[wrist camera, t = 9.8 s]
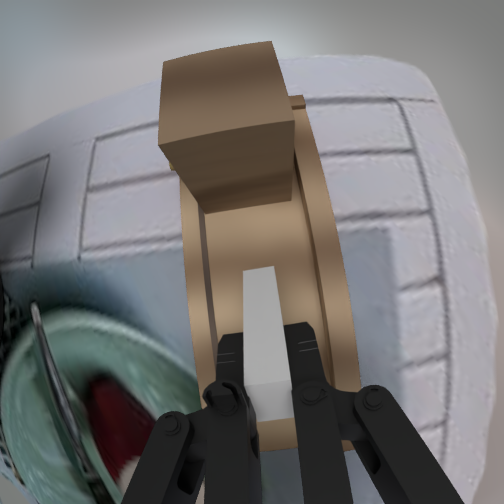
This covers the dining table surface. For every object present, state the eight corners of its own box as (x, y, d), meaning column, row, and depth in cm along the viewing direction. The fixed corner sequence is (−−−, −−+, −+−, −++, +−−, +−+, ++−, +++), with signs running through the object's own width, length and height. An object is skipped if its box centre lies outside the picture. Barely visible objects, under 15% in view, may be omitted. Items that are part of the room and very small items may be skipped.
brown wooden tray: (353, 429, 18) (367, 449, 14) (214, 446, 19) (201, 468, 15) (300, 125, 24) (302, 94, 20) (183, 145, 24) (168, 118, 20)
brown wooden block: (291, 200, 21) (294, 120, 12) (183, 218, 21) (126, 153, 12) (277, 131, 22) (271, 40, 13) (181, 148, 23) (136, 70, 14)
